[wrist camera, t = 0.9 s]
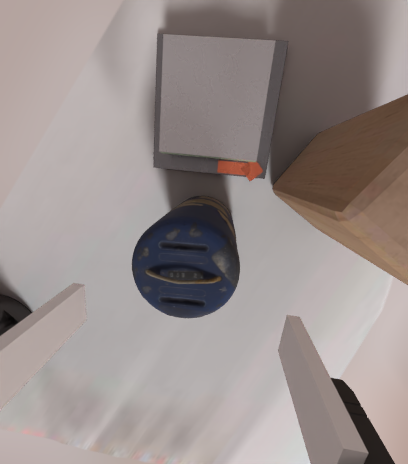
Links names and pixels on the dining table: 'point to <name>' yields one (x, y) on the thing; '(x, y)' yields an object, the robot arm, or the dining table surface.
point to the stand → (216, 103)
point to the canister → (188, 259)
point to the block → (357, 185)
